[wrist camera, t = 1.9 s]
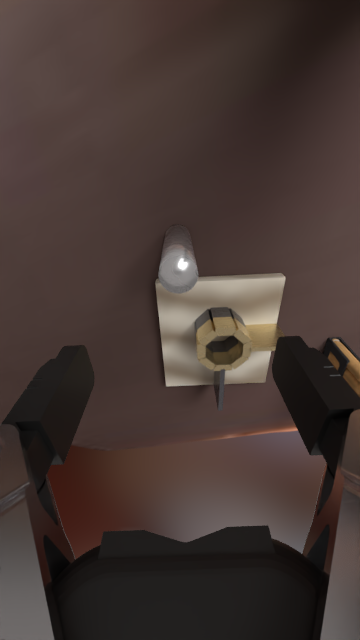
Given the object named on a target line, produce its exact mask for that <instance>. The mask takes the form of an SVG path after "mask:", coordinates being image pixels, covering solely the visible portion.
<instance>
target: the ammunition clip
mask: <svg viewBox="0 0 360 640" xmlns="http://www.w3.org/2000/svg"><path fill="white" fill-rule="evenodd" d="M323 354H324V355H325V356H326V357H327V358H328V359H329V361H330V362H331V363H332V364H333V365H334V368H336V369H337V370H338V372H339V373H340V375H341V376H343V378H344V379H345V380H346V381H347V383H348V384H349V385H350V386H351V388H352V389H353V390H354V391H355V392H356V394H357V395H358V396H359V397H360V358H359V357H358V356H357V355H356V354H355V353H354V352H353V351H352V349H351V348H350V347H349V346H348V345H347V344H346V343H345V342H344V341H343V340H342V339H341V337H337V338H328V339H327V342H326V346H325V349H324V352H323Z"/></svg>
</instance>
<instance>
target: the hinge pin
mask: <svg viewBox="0 0 360 640" xmlns="http://www.w3.org/2000/svg"><path fill="white" fill-rule="evenodd" d="M159 280H160V283H161V285H162V286H163V287H164V288H165V289H166V290H168V291H169V292H172V293H177V294H180V293H185V292H187V291H189V290H191V289H192V288H193V287H194V286H195V284H196V283H197V280H198V269H197V264H196V260H195V255H194V251H193V246H192V241H191V237H190V233H189V231H188V229H187V228H186V227H185V226H183V225H180V224H175V225H172V226H170V227H169V228H168V229H167V231H166V233H165V238H164V244H163V250H162V256H161V262H160V268H159Z"/></svg>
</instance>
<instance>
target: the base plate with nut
mask: <svg viewBox="0 0 360 640" xmlns="http://www.w3.org/2000/svg"><path fill="white" fill-rule="evenodd" d="M285 278H286V277H285V276H284V275H283V274H282V273H272V274H250V275H229V276H208V277H198V280H197V283H196V284H195V286H194V287H193V288H192V289H191V290H189V291H187V292H185V293H180V294H177V293H172V292H169V291H168V290H166V289H165V288H164V287H163V286H162V285H161V283H160V280H159V279H156V283H155V285H156V294H157V304H158V313H159V323H160V332H161V342H162V351H163V361H164V370H165V380H166V386H188V385H212V384H214V389H215V395H216V401H217V407H218V410H222V408H223V395H224V384H236V383H260V382H265V380H266V375H267V370H268V364H269V359H270V354H271V351H275V349H276V344H277V340H278V338H279V337H285V336H284V334H283V333H282V331H281V329H280V328H279V326H278V325H277V319H278V314H279V309H280V304H281V299H282V294H283V288H284V283H285Z"/></svg>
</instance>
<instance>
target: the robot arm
mask: <svg viewBox="0 0 360 640" xmlns="http://www.w3.org/2000/svg"><path fill="white" fill-rule="evenodd" d="M272 373H273V378H274V380H275V383H276V385H277V387H278V389H279V391H280V393H281V395H282V397H283V399H284V402H285V404H286V406H287V408H288V410H289V412H290V414H291V416H292V418H293V421H294V423H295V425H296V427H297V429H298V431H299V433H300V435H301V437H302V440H303V442H304V444H305V446H306V448H307V450H308V452H309V454H310V455H323V457H324V459H325V460H326V462H327V463H326V465H325V468H324V472H323V476H322V481H321V485H320V490H319V494H318V498H317V503H316V507H315V512H314V516H313V521H312V524H311V527H310V530H309V532H308V535H307V538H306V542H305V545H304V549H303V553H302V554H301V553H300V552H298V551H297V550H295V549H293V548H292V547H290V546H289V545H286V544H284V543H282V542H280V541H278V540H274V539H272V538H271V535H270V531H269V527H268V526H242V527H226V528H224V529H221V530H219V531H216V532H214V533H211V534H208V535H206V536H203V537H201V538H199V539H196V540H193V541H190V542H187V543H186V542H180V541H177V540H174V539H170V538H167V537H164V536H161V535H157V534H154V533H151V532H148V531H145V530H135V531H110V532H109V531H108V532H103V536H102V542H101V545H100V546H97V547H95V548H93V549H91V550H89V551H88V552H86V553H85V554H83V555H81V556H80V557H79V558H77V559H76V560H75V557H74V554H73V551H72V548H71V546H70V543H69V541H68V539H67V537H66V535H65V533H64V530H63V527H62V524H61V520H60V517H59V514H58V510H57V507H56V503H55V499H54V496H53V493H52V490H51V486H50V482H49V479H48V477H47V473H48V470H49V468H50V466H51V465H56V464H64V461H65V459H66V456H67V454H68V451H69V449H70V446H71V443H72V441H73V438H74V436H75V433H76V430H77V428H78V425H79V423H80V420H81V417H82V415H83V412H84V410H85V407H86V404H87V402H88V399H89V397H90V394H91V391H92V389H93V386H94V372H93V369H92V365H91V362H90V359H89V356H88V353H87V350H86V347H85V346H84V345H79V346H64V347H63V348H62V349H61V351H60V352H59V354H58V356H57V357H56V359H51V360H49V361H48V362H47V363H46V364H44V365H43V366H42V367H41V368H40V369H39V370H38V372H37V373H36V375H35V376H34V378H33V380H32V381H31V382H30V383H29V385H28V386H27V389H25V391H24V392H23V394H22V395H21V396H20V398H19V399H18V401H17V402H16V404H15V405H14V407H13V408H12V409H11V411H10V412H9V414H8V415H7V417H6V418H5V420H4V421H3V422H2V424H1V425H0V640H360V397H359V396H358V395H357V394H356V392H355V391H354V390H353V389H352V388H351V386H350V385H349V384H348V383H347V381H346V380H345V379H344V378H343V376H341V375H340V373H339V372H338V370H337V369H336V368H334V365H333V364H332V363H331V362H330V361H329V359H328V358H327V357H326V356H325V355H324V354H322V353H321V352H319V351H318V350H316V349H315V348H309V347H308V346H307V345H306V343H305V342H304V341H303V339H302V338H301V337H300V336H287V337H279V338H278V340H277V344H276V349H275V354H274V359H273V364H272Z"/></svg>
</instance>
